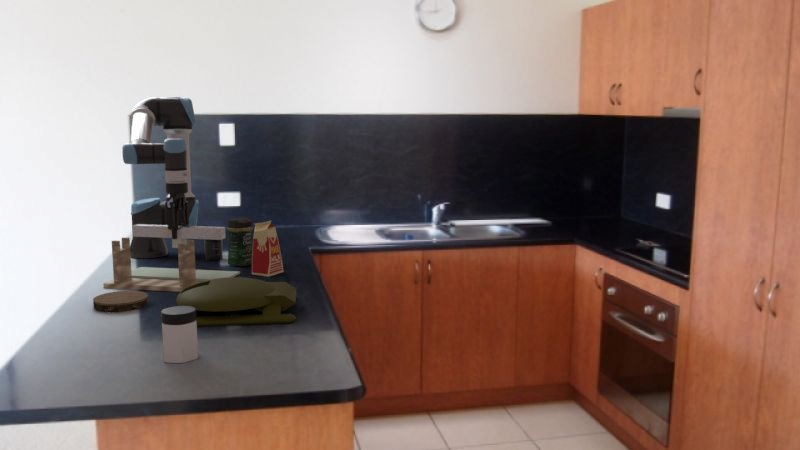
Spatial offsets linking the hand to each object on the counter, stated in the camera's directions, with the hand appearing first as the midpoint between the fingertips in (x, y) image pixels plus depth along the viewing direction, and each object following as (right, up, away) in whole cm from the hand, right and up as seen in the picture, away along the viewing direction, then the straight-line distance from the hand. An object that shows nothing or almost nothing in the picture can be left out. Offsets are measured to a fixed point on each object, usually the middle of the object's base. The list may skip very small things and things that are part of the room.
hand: (179, 246), depth 266 cm
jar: (+26, -25, -87) cm, 94 cm away
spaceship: (+31, -19, -45) cm, 58 cm away
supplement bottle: (+5, -6, +31) cm, 32 cm away
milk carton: (+30, -10, +6) cm, 33 cm away
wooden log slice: (-6, -18, -39) cm, 44 cm away
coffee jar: (+18, -8, +20) cm, 28 cm away
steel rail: (0, +3, -1) cm, 3 cm away
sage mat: (0, -11, +2) cm, 11 cm away
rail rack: (-3, -13, -16) cm, 21 cm away
